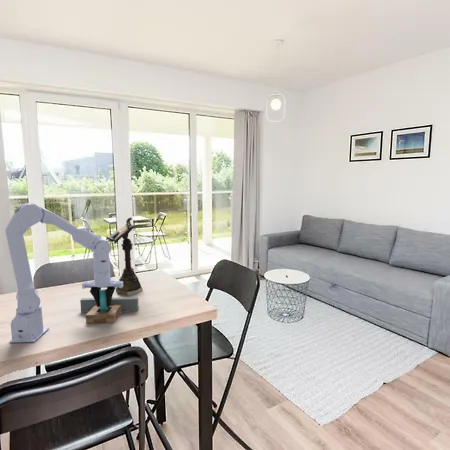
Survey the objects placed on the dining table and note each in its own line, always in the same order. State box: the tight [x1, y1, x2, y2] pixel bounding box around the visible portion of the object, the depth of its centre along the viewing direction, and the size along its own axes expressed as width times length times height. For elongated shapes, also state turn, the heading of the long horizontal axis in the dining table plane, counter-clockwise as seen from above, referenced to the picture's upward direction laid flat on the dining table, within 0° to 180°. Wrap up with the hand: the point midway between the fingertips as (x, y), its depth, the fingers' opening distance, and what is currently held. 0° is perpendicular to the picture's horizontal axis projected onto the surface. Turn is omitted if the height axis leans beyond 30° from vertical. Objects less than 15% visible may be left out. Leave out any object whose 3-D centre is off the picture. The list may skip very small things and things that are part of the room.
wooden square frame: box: [85, 304, 123, 324], centre depth 121 cm, size 10×10×3 cm
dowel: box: [99, 288, 109, 312], centre depth 120 cm, size 3×3×9 cm
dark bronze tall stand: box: [105, 217, 143, 296], centre depth 145 cm, size 17×13×35 cm
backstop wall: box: [79, 296, 139, 313], centre depth 128 cm, size 4×22×5 cm, turn 92°
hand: (104, 306), depth 120 cm, fingers closed on dowel, 3 cm apart
